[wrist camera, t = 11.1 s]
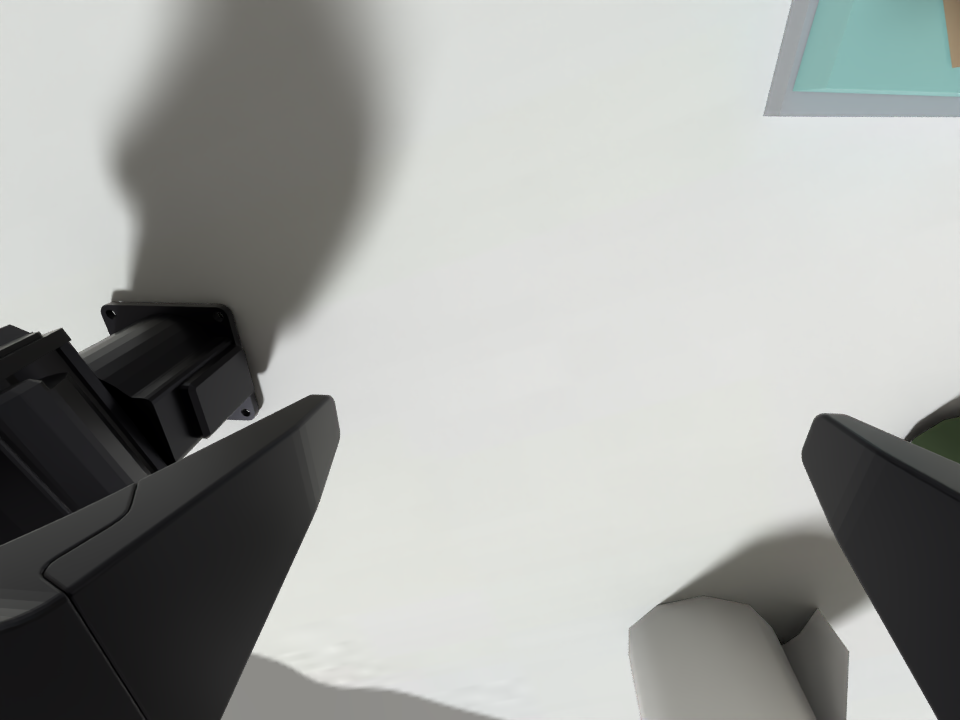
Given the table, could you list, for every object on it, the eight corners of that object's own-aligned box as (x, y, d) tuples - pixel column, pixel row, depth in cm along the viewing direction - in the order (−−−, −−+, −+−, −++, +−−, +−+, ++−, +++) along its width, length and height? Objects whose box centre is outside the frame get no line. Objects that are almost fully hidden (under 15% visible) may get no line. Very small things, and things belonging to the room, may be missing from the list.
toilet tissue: (852, 599, 29) (969, 773, 21) (703, 696, 35) (753, 859, 27) (734, 540, 27) (815, 704, 20) (600, 652, 33) (622, 811, 26)
